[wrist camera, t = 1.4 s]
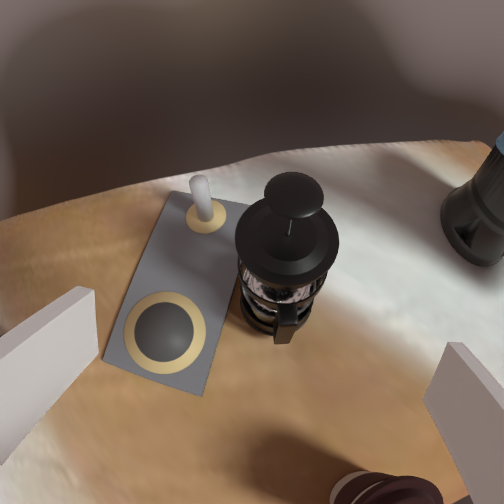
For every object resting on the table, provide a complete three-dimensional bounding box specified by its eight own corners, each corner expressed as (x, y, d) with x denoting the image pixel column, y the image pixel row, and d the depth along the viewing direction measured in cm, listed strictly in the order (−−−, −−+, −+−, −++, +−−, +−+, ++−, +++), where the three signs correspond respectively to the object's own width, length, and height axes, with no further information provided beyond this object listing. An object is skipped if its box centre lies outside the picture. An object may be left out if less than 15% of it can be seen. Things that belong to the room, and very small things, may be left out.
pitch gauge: (257, 209, 49) (258, 171, 41) (202, 396, 37) (187, 393, 29) (173, 193, 51) (161, 155, 43) (104, 361, 38) (72, 347, 31)
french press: (239, 266, 45) (226, 140, 24) (306, 263, 45) (343, 139, 25) (242, 351, 39) (227, 280, 19) (316, 346, 39) (379, 271, 19)
